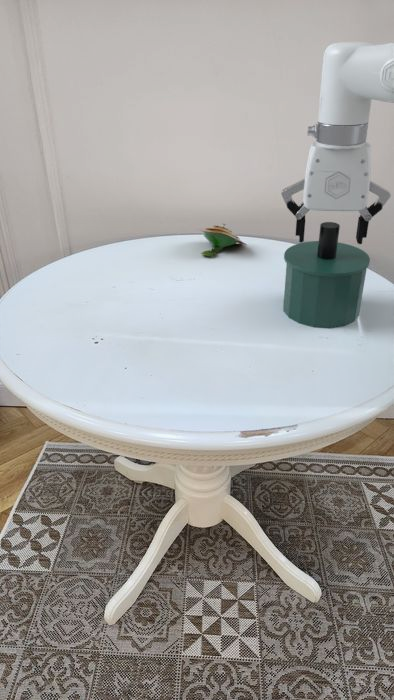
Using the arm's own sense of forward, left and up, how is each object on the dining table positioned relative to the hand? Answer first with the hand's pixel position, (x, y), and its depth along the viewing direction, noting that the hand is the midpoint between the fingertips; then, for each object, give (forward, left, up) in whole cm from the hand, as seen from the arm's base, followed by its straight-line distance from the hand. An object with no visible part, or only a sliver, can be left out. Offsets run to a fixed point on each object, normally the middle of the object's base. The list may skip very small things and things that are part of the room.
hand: (329, 240), depth 91 cm
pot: (0, 0, -14) cm, 14 cm away
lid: (0, 0, -4) cm, 4 cm away
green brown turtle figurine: (+22, -28, -14) cm, 38 cm away
